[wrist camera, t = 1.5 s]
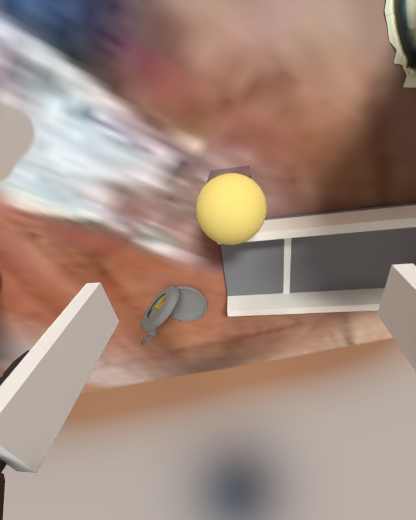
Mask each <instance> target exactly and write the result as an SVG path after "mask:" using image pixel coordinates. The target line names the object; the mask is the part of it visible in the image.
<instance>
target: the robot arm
mask: <svg viewBox="0 0 416 520" xmlns="http://www.w3.org/2000/svg"><path fill="white" fill-rule="evenodd" d="M377 314H378V315H379V317H380V318H381V320H382V321H383V323H384V324H385V326H386V327H387V329H388V330H389V332H390V333H391V335H392V336H393V338H394V339H395V341H396V342H397V344H398V345H399V347H400V348H401V350H402V351H403V353H404V354H405V356H406V357H407V359H408V360H409V362H410V363H411V365H412V366H413V368H414V369H415V371H416V266H415V265H414V264H413V263H412V264H395V265H392V266H391V269H390V272H389V276H388V279H387V282H386V286H385V289H384V292H383V296H382V299H381V302H380V306H379V309H378V313H377ZM118 323H119V320H118V318H117V316H116V314H115V312H114V310H113V308H112V306H111V304H110V302H109V300H108V298H107V295H106V293H105V291H104V289H103V287H102V285H101V283H86V285H85V286H84V287H83V288H82V289H81V291H80V292H79V293H78V294H77V295H76V297H75V298H74V299H73V300H72V301H71V302H70V304H69V305H68V306H67V307H66V308H65V310H64V311H63V312H62V313H61V314H60V316H59V317H58V318H57V319H56V320H55V321H54V323H53V324H52V325H51V326H50V327H49V329H48V330H47V331H46V332H45V333H44V335H43V336H42V337H41V338H40V339H39V341H38V342H37V343H36V344H35V345H34V346H33V348H32V349H31V350H28V351H26V352H25V353H24V354H23V355H21V356H20V357H19V358H18V359H16V360H15V361H14V362H13V363H12V364H11V365H10V366H9V368H8V369H7V370H6V371H5V372H4V373H3V376H2V377H0V520H2V519H3V503H4V487H5V479H4V474H3V473H1V472H2V470H3V469H4V467H5V466H6V464H7V465H9V466H10V467H12V468H13V469H15V470H16V471H21V472H33V473H37V472H38V470H39V468H40V466H41V464H42V463H43V461H44V459H45V457H46V455H47V453H48V451H49V449H50V448H51V446H52V444H53V442H54V440H55V439H56V437H57V435H58V433H59V431H60V429H61V428H62V426H63V423H64V422H65V420H66V418H67V417H68V415H69V413H70V411H71V409H72V407H73V405H74V404H75V402H76V400H77V398H78V396H79V394H80V393H81V391H82V389H83V387H84V385H85V383H86V382H87V380H88V378H89V376H90V374H91V372H92V371H93V369H94V367H95V365H96V363H97V361H98V359H99V358H100V356H101V354H102V352H103V350H104V348H105V347H106V345H107V343H108V341H109V339H110V337H111V336H112V334H113V332H114V330H115V328H116V326H117V325H118Z"/></svg>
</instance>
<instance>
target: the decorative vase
mask: <svg viewBox="0 0 416 520" xmlns="http://www.w3.org/2000/svg"><path fill="white" fill-rule="evenodd" d="M384 11H385V16H386V21H387V26H388V34H389V42H390V43H391V44H392V45H393V46H394V47H395V49H396V50H397V51H396V55H395V59H394V64H401V65H402V66H403V68H404V71H405V73H406V80H405V83H404V86H403V87H410V88H415V87H416V0H386V5H385V10H384Z"/></svg>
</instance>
